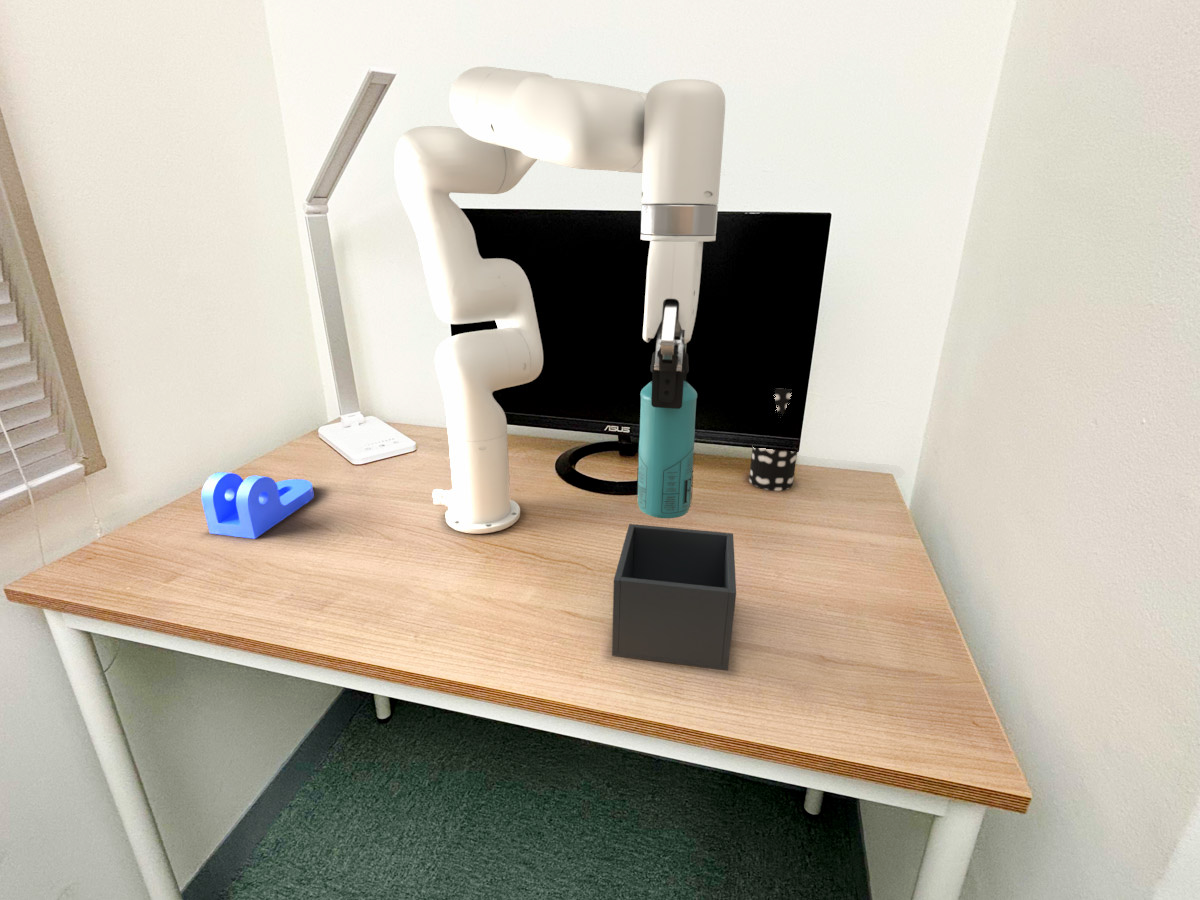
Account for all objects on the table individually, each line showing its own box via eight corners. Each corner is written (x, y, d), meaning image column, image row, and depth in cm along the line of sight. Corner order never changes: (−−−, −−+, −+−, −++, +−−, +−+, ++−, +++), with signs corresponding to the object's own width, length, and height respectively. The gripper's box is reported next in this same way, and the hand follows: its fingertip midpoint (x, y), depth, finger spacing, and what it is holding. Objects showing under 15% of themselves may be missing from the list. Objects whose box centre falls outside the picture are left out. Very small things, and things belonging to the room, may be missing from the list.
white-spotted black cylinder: (743, 473, 125) (753, 377, 117) (783, 472, 125) (796, 377, 118) (756, 491, 117) (768, 389, 110) (799, 490, 118) (813, 388, 110)
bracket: (255, 538, 98) (243, 487, 95) (209, 533, 100) (197, 482, 96) (323, 491, 115) (315, 446, 111) (283, 487, 116) (275, 442, 113)
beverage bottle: (688, 533, 70) (701, 360, 63) (630, 527, 71) (636, 356, 64) (692, 508, 76) (704, 347, 69) (638, 503, 77) (644, 344, 70)
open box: (611, 655, 73) (613, 579, 70) (627, 591, 86) (629, 523, 82) (728, 670, 71) (736, 593, 67) (726, 601, 84) (733, 533, 80)
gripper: (649, 222, 70) (644, 376, 77) (629, 226, 54) (624, 419, 61) (716, 223, 69) (705, 379, 75) (716, 227, 53) (701, 425, 59)
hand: (669, 396), depth 68 cm, fingers closed on beverage bottle, 6 cm apart
